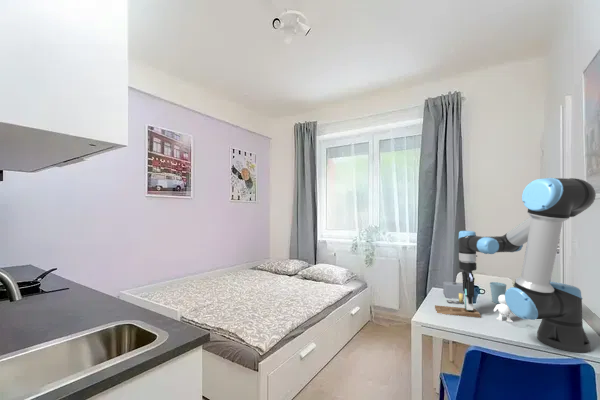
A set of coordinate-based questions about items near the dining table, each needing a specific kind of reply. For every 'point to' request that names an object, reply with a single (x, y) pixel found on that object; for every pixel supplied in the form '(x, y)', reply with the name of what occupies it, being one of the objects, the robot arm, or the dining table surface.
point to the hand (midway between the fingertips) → (468, 308)
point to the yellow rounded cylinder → (457, 301)
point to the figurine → (503, 309)
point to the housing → (452, 289)
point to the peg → (465, 299)
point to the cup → (497, 290)
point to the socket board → (457, 311)
